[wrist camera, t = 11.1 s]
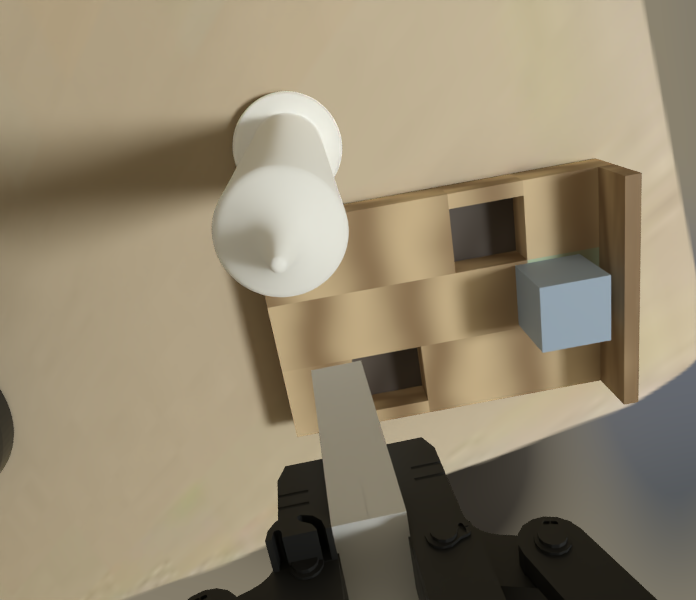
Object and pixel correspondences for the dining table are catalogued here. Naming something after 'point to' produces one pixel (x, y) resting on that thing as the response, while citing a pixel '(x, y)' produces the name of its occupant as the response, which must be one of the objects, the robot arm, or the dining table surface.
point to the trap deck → (466, 292)
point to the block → (564, 302)
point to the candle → (282, 198)
